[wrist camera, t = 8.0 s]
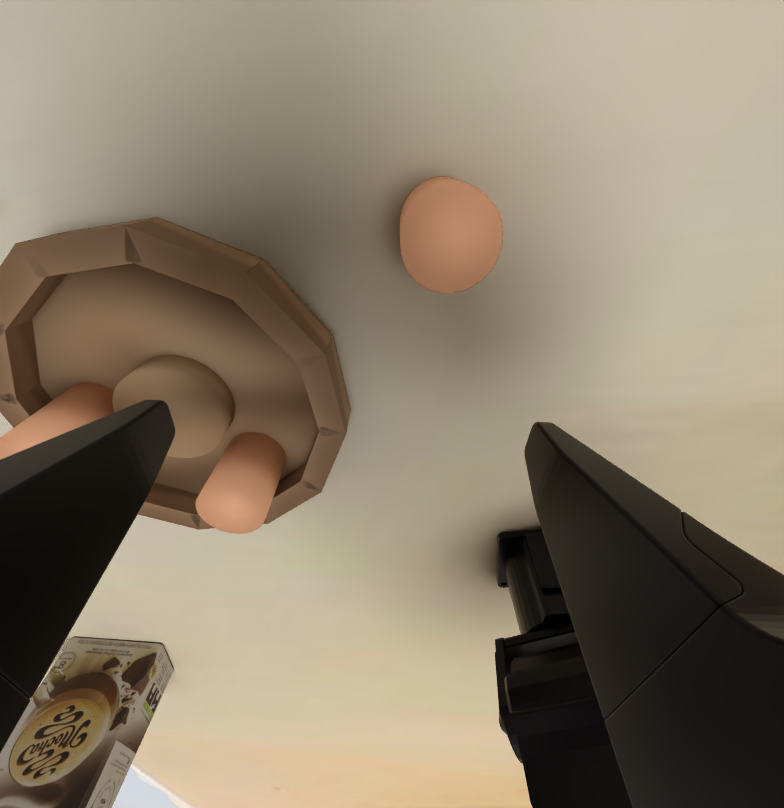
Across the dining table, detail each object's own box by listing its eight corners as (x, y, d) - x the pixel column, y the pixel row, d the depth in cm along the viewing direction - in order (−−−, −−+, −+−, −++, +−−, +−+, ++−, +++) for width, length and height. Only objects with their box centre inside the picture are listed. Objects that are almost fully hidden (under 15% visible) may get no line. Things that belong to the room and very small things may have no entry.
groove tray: (369, 487, 26) (366, 517, 24) (127, 509, 28) (105, 539, 26) (298, 194, 17) (283, 200, 14) (-67, 253, 18) (-130, 267, 16)
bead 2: (240, 478, 25) (211, 535, 21) (219, 435, 23) (183, 489, 19) (293, 473, 25) (274, 530, 21) (276, 429, 23) (252, 483, 19)
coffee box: (162, 641, 39) (36, 900, 25) (175, 669, 42) (70, 910, 29) (70, 634, 38) (-109, 895, 25) (90, 663, 42) (-56, 906, 28)
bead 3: (480, 258, 18) (502, 286, 14) (404, 269, 18) (406, 299, 15) (479, 170, 16) (503, 175, 12) (394, 183, 16) (393, 192, 13)
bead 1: (144, 430, 23) (94, 485, 19) (89, 436, 23) (29, 491, 19) (112, 379, 21) (49, 428, 17) (52, 386, 21) (-22, 436, 17)
